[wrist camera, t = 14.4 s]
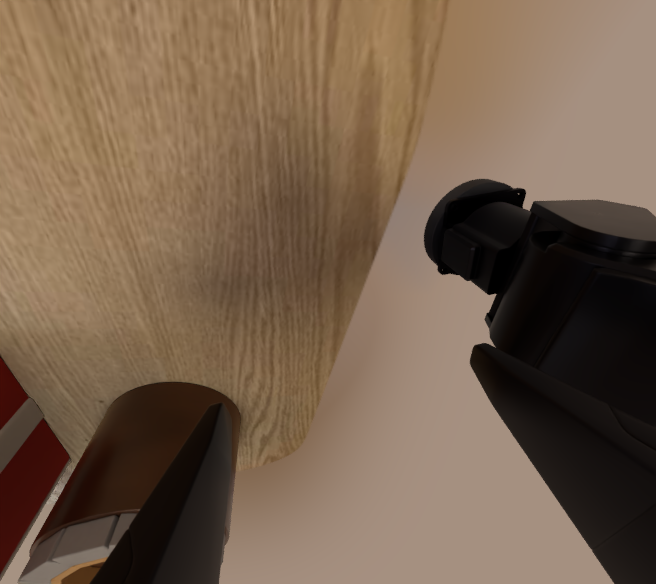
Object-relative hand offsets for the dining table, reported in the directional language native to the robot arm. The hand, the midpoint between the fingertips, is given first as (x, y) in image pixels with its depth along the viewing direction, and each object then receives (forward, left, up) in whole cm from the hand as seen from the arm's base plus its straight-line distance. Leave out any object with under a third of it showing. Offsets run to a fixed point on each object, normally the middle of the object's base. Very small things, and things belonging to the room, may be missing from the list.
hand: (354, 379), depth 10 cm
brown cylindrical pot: (+16, +16, -12) cm, 26 cm away
